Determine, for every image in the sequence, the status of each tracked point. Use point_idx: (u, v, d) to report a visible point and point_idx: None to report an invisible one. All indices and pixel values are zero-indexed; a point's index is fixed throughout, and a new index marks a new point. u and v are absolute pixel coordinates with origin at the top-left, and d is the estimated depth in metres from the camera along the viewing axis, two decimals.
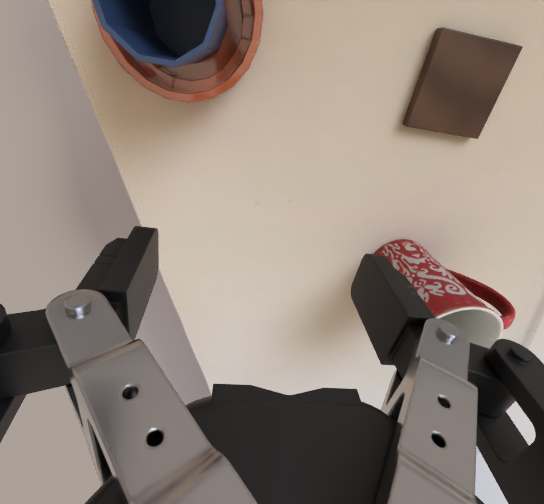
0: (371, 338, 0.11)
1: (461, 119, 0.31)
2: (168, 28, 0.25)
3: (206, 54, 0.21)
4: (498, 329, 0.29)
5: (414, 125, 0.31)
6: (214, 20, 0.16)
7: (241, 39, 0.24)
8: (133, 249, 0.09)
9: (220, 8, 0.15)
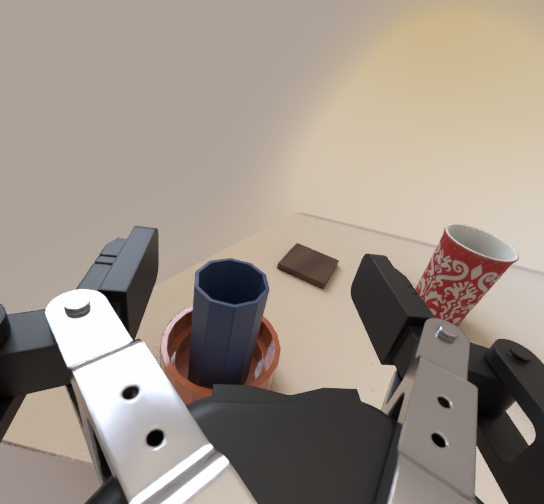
0: (371, 338, 0.11)
1: (326, 264, 0.52)
2: None
3: None
4: (463, 226, 0.44)
5: (325, 281, 0.48)
6: (255, 267, 0.28)
7: None
8: (133, 249, 0.09)
9: (251, 264, 0.28)
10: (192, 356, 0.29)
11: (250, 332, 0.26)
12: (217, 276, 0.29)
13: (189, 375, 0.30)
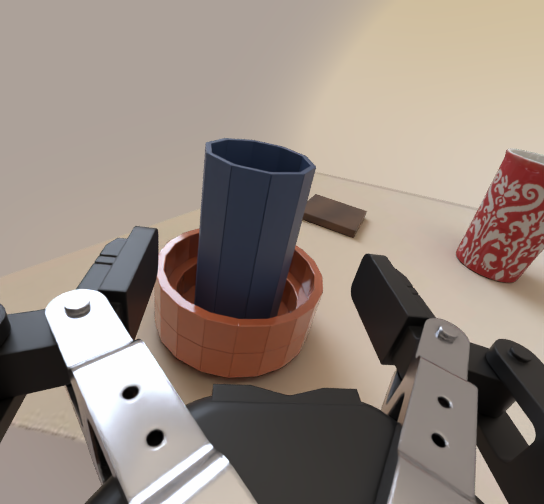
0: (371, 338, 0.11)
1: (353, 213, 0.44)
2: None
3: None
4: (525, 152, 0.36)
5: (355, 228, 0.40)
6: None
7: None
8: (133, 249, 0.09)
9: (283, 147, 0.20)
10: (201, 281, 0.20)
11: (288, 232, 0.18)
12: None
13: None
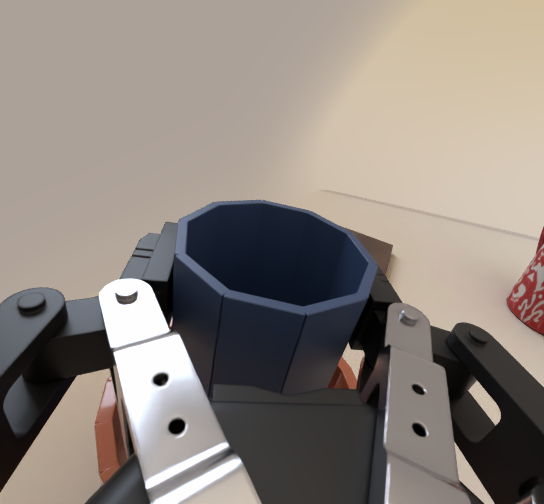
0: None
1: (378, 250, 0.36)
2: None
3: None
4: None
5: (383, 272, 0.32)
6: (324, 218, 0.12)
7: None
8: (167, 243, 0.10)
9: (312, 212, 0.12)
10: None
11: (327, 381, 0.10)
12: (232, 243, 0.12)
13: None
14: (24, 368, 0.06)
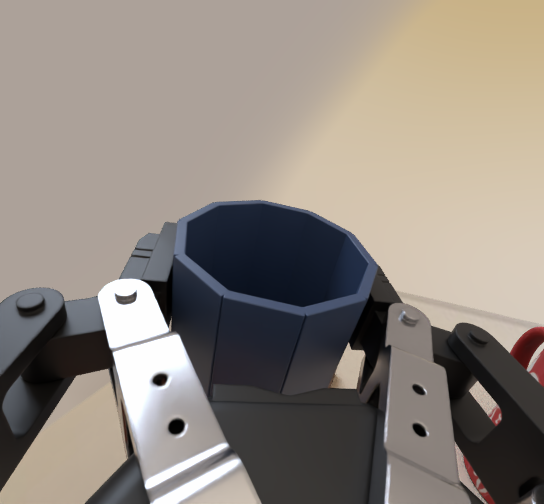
0: None
1: None
2: None
3: None
4: None
5: None
6: (323, 218, 0.12)
7: None
8: (167, 243, 0.10)
9: (312, 213, 0.12)
10: None
11: (327, 382, 0.10)
12: (232, 243, 0.12)
13: None
14: (23, 368, 0.06)
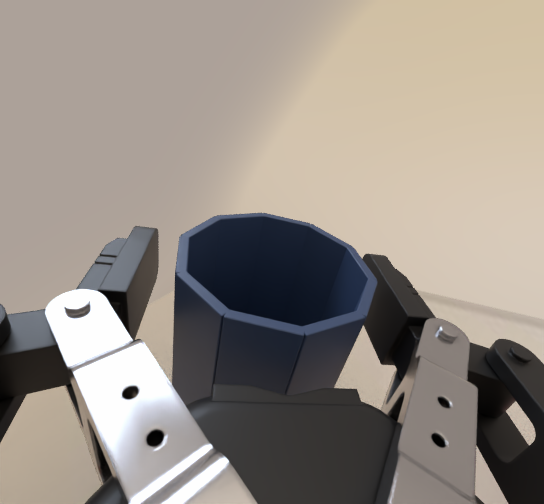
0: (371, 338, 0.11)
1: None
2: None
3: None
4: None
5: None
6: (324, 231, 0.12)
7: None
8: (133, 249, 0.09)
9: (313, 225, 0.12)
10: None
11: None
12: (233, 255, 0.12)
13: None
14: None
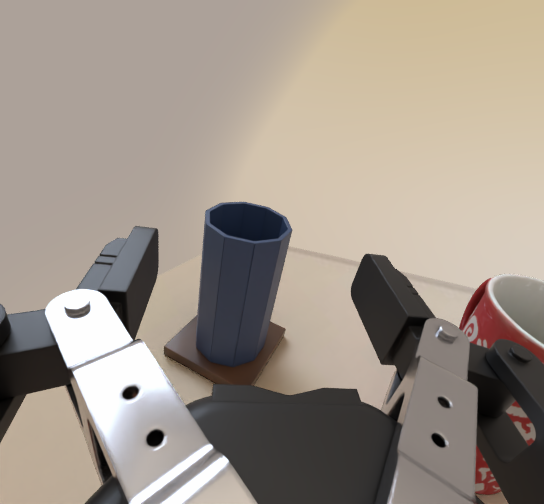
0: (371, 338, 0.11)
1: None
2: None
3: None
4: (520, 279, 0.21)
5: (248, 383, 0.25)
6: (273, 210, 0.24)
7: None
8: (133, 249, 0.09)
9: (268, 208, 0.25)
10: (201, 316, 0.25)
11: (270, 281, 0.22)
12: (229, 223, 0.25)
13: (197, 341, 0.26)
14: None
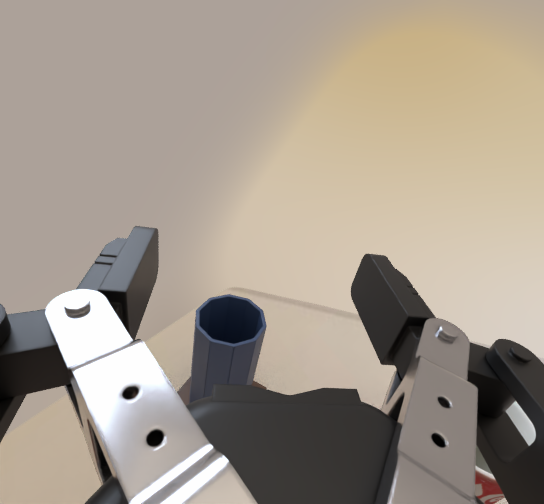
0: (371, 338, 0.11)
1: None
2: None
3: None
4: None
5: None
6: (253, 303, 0.29)
7: None
8: (133, 249, 0.09)
9: (249, 300, 0.30)
10: (193, 389, 0.30)
11: (249, 367, 0.28)
12: (216, 311, 0.30)
13: None
14: None
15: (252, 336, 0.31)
